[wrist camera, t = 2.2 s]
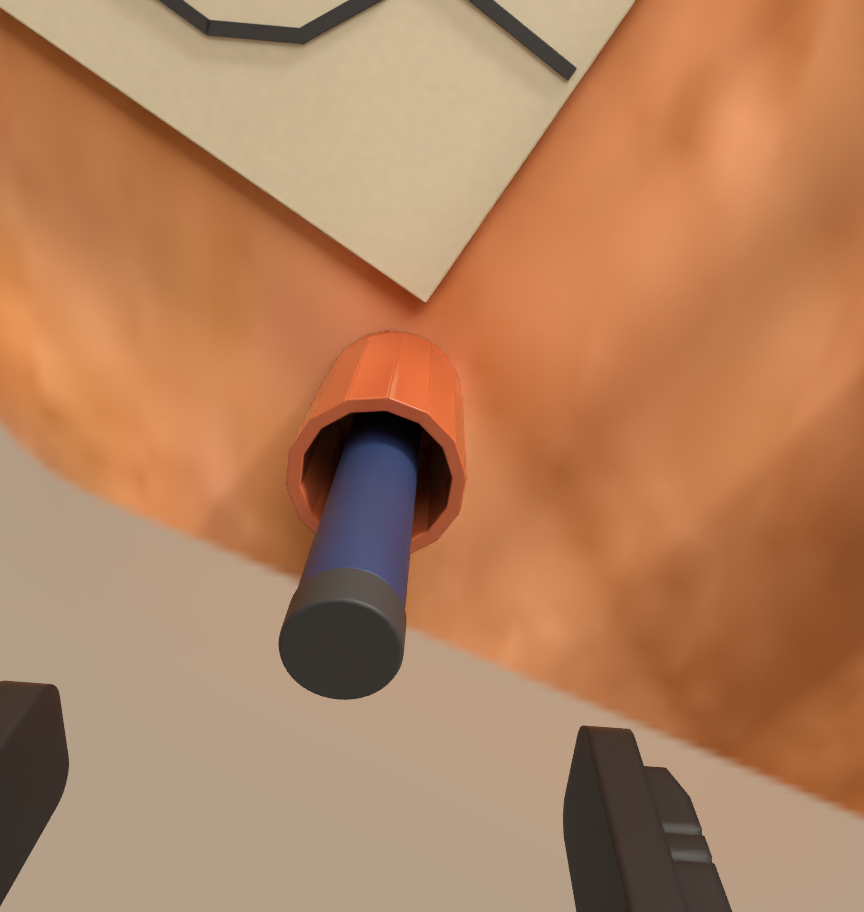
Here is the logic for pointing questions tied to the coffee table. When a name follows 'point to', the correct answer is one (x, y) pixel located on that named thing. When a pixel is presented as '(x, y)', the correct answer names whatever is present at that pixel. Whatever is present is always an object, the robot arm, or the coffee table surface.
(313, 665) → the marker
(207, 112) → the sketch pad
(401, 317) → the coffee table surface
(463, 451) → the pen cup
